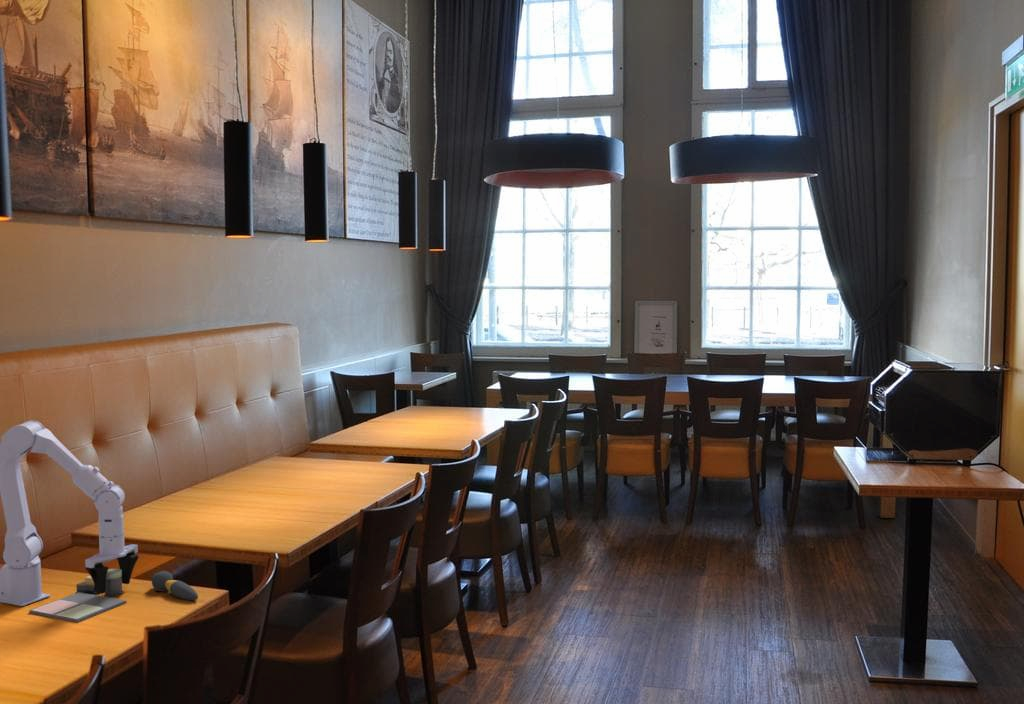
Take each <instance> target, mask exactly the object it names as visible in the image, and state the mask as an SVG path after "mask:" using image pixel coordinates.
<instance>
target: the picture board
mask: <svg viewBox="0 0 1024 704" xmlns="http://www.w3.org/2000/svg"><path fill="white" fill-rule="evenodd" d="M126 604H127V600H125V599H122V598H121V599H120V598H115V597H106V596H105V595H104V596H102V595H98V594H96V595H92V594H87V593H81V592H75V593H73V594H70V595H68V596H64V597H61V598H59V599H56V600H54V601H51V602H48V603H45V604H43V605H40V606H37V607H35V608H31V609H30V610H29V611H28V613H29V614H33V615H38V616H43V617H49V618H54V619H59V620H65V621H68V622H75V623H80V622H82V621H85V620H87V619H90V618H92V617H95V616H98V615H99V614H102V613H105V612H107V611H110V610H112V609H115V608H117V607H120V606H123V605H126Z"/></svg>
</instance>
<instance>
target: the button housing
mask: <svg viewBox="0 0 1024 704" xmlns="http://www.w3.org/2000/svg"><path fill="white" fill-rule="evenodd" d="M75 586H76V593H78V592H81V593H87V594H92V595H98V594H100V593H97V590H96V587H95V586H93V585H87V584H85V581H82V582H80V583H77V584H76V585H75Z"/></svg>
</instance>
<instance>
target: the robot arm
mask: <svg viewBox="0 0 1024 704" xmlns="http://www.w3.org/2000/svg"><path fill="white" fill-rule="evenodd" d="M29 451H30V453H35V454H45V455H46V456H48V457H50V458H51V459H52V460H53V461H55V462H56V463H57V464H58V465H59V466H61V467H62V468H63V469H64V470H66V471H67V472H69V474H71V476H72V478H71V479H72V483H73V484H74V485H75V486H76V487H77V488H79V490H81V491H82V492H83V493H84V494H85V495H86V496H87V497H89V498H90V499H91V500H93V501H94V502H93V503H94V504H93V505H94V506H95V509H96V510H97V511H98V517H97V518H98V519H97V520H98V543H99V545H98V547H99V552H98V553H96V554H95V555H92V556H91V557H88V558H86V559H85V561H84V562H85V563H84V564H85V570H86V571H87V573H88V574H89V576H91V577H92V579H93V582H94V584H95V587H96V590H97V593H99V594H105V591H106V575H107V571H108V570H109V566H104V564H105V563H108V562H110V561H113V560H117V562H118V566H119V569H122V585H123V584H124V585H129V584H130V582H131V577H132V574H133V571H134V567H135V565H136V563H137V561H138V560H139V554H137V553H139V547H138V546H139V545H138V544H135V543H134V544H133V543H131V544H128V545H125V528H124V527H125V525H124V524H125V523H124V522H125V521H124V515H123V514H124V510H123V507H124V506H123V505H122V504H123V503H124V501H125V499H126V494H125V491H124V489H123V488H122V487H121V485H118V484H114V483H115V482H114V481H112V480H108V479H107V478H106V477H105V476H104V475H103V474H101V472H100V468H99V467H98V466H93V465H91V464H83V463H82V462H81V461H80V460H79V459H78V458H77V457H76V456H75V455H74V454H73V453H72V452H71V451H70V450H69V449H68V448H67V447H66V446H65V445H64V444H63V443H62V442H61V441H59V439H58V438H57V437H56V436H55V435H54V433H52V431H51V430H50V429H48V428H46V427H44V425H43V424H42V423H41V422H39V421H37V420H27V421H23V422H22V423H21V424H18V425H15V426H11V427H10V428H9V429H8V430H7V431H6V432H4V434H3V435H2V436H1V439H0V496H1V497H0V498H1V504H2V508H3V514H4V518H5V519H4V520H5V525H6V532H5V537H4V550H3V552H2V558H3V560H4V563H5V564H4V565H3V566H2V567H1V568H0V603H3V604H8V605H13V606H18V607H24V606H27V605H29V604H33V603H35V602H39V601H41V600H44V599H47V598H50V597H51V594H50V593H43V592H42V591H43V590H42V589H43V588H42V567H41V566H42V565H41V558H40V557H39V555H40V553H41V552H42V551H43V547H44V544H43V543H44V542H43V540H42V538H41V536H40V535H39V534H38V533H37V532H38V531H37V527H36V526H35V525H34V524H33V523H32V521H31V516H30V515H31V514H30V510H29V505H28V499H27V494H26V488H25V484H24V479H23V474H22V468H21V460H23V458H24V457H25V456H26V455H27V454H28V452H29Z"/></svg>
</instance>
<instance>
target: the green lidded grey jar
mask: <svg viewBox="0 0 1024 704" xmlns="http://www.w3.org/2000/svg"><path fill="white" fill-rule="evenodd" d="M122 594H123V583H122V569H120V568H117V567H116V568H110V569H109V568H108V571H107V575H106V591H105V593H104V597H109V598H115V597H119V596H121V595H122Z"/></svg>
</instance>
